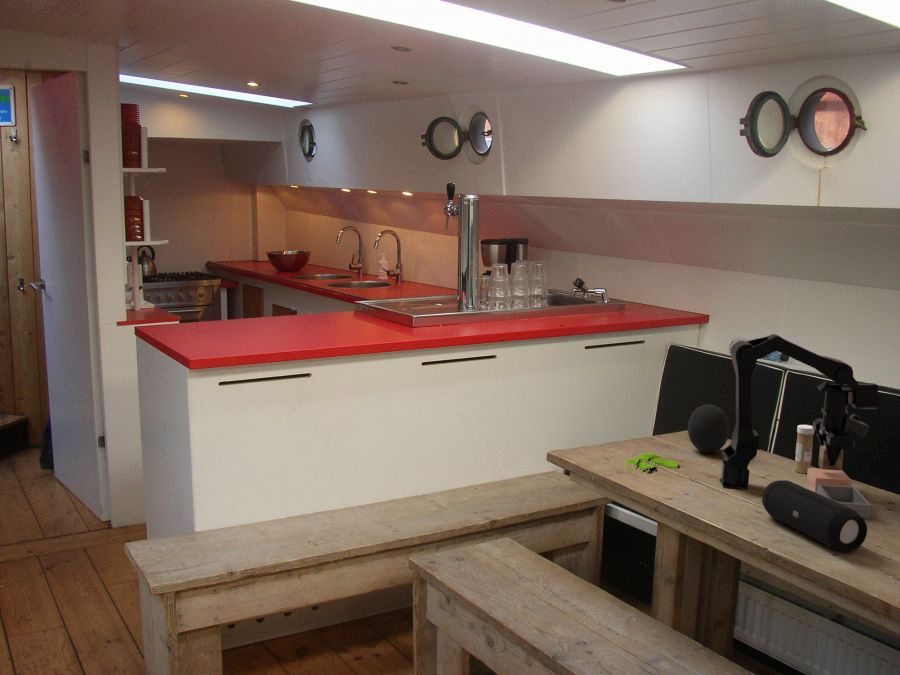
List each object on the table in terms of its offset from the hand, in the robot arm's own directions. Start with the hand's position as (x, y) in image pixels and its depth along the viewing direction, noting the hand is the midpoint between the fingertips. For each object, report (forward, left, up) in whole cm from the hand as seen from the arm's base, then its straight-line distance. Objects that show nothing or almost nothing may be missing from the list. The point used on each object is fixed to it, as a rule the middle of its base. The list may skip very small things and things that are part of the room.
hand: (830, 463), depth 242 cm
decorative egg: (-28, +30, -8) cm, 42 cm away
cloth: (-46, +12, -8) cm, 48 cm away
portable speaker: (-13, -34, -8) cm, 38 cm away
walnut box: (0, 0, -1) cm, 1 cm away
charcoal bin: (0, -14, -8) cm, 16 cm away
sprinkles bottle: (-3, +16, -8) cm, 18 cm away
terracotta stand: (0, 0, -8) cm, 8 cm away
